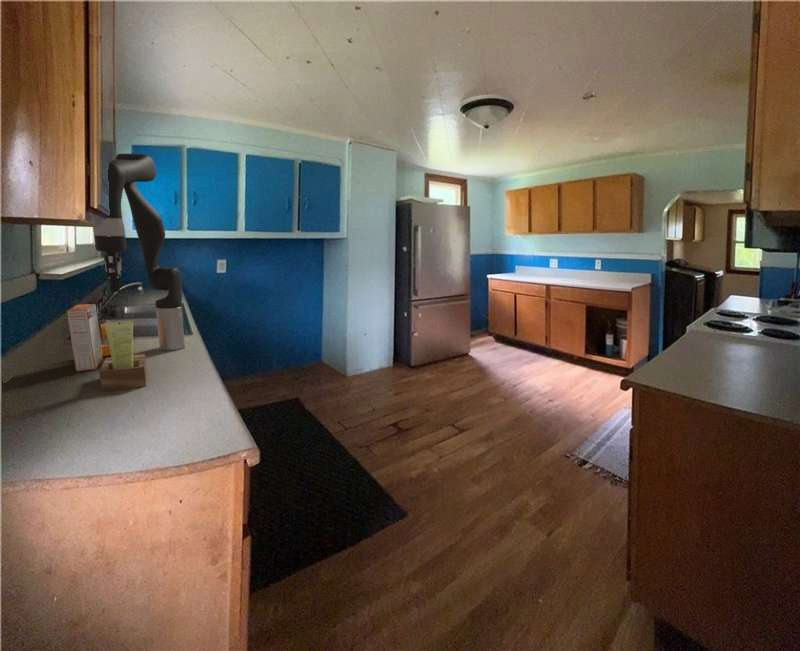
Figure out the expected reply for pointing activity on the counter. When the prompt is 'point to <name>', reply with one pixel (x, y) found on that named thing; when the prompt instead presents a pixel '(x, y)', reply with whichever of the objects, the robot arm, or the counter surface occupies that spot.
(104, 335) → the bracket
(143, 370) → the wooden box
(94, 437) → the counter surface
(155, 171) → the robot arm
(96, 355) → the cracker box
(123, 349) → the tube
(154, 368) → the counter surface
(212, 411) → the counter surface
